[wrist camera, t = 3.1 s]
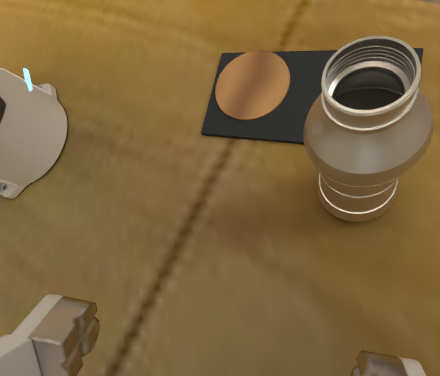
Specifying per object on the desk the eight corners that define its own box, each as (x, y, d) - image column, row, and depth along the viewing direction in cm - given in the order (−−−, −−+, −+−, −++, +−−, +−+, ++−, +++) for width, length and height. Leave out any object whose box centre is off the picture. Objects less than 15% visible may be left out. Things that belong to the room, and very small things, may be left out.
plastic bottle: (311, 171, 33) (271, 43, 15) (382, 152, 31) (431, -21, 13) (328, 232, 31) (304, 168, 13) (404, 216, 29) (501, 115, 11)
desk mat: (202, 135, 39) (200, 133, 39) (223, 55, 41) (221, 52, 40) (408, 153, 30) (409, 151, 30) (422, 51, 32) (423, 47, 32)
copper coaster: (208, 118, 39) (207, 117, 38) (225, 52, 40) (224, 51, 40) (281, 123, 35) (281, 122, 35) (297, 51, 37) (296, 49, 36)
